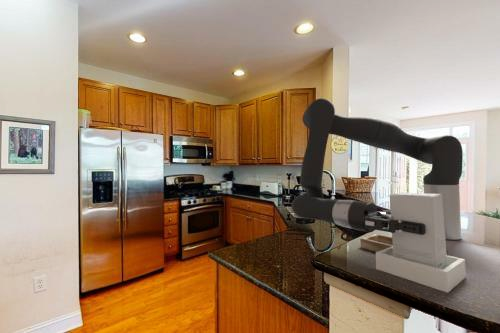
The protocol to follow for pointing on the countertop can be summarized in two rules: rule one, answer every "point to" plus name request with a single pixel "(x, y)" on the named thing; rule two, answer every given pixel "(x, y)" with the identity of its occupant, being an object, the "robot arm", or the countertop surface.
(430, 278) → the tray
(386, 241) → the holder
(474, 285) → the countertop surface
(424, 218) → the skincare box
